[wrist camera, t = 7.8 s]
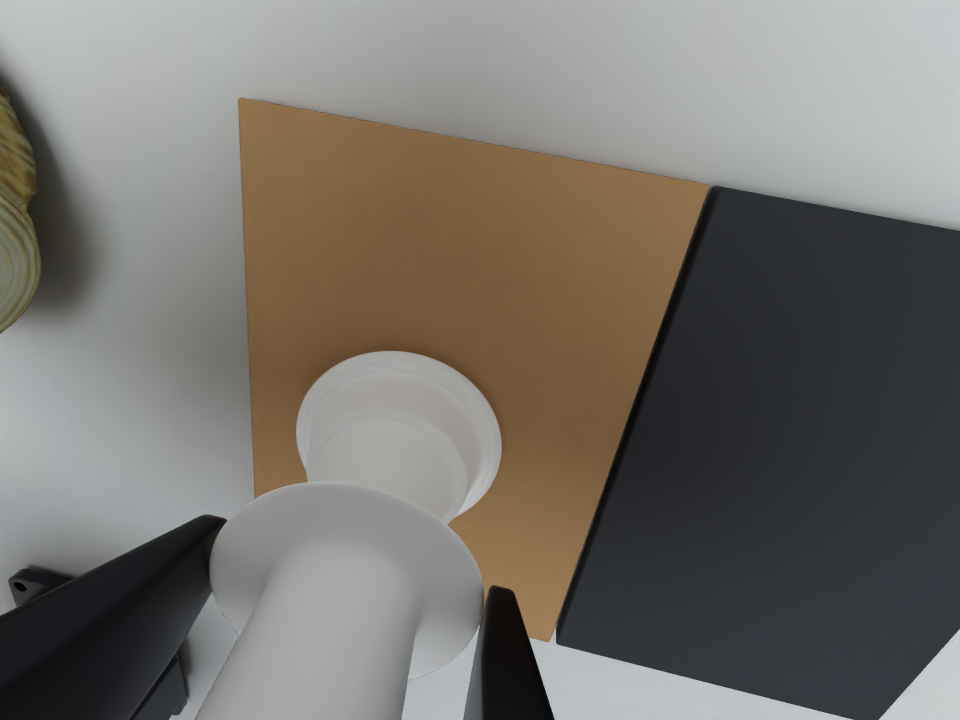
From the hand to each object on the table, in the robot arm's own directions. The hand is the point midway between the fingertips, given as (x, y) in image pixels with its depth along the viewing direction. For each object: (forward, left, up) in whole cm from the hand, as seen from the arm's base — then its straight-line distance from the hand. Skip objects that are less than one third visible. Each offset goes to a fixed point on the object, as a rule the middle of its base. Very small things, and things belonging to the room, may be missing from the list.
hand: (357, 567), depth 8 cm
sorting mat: (+5, 0, -5) cm, 7 cm away
